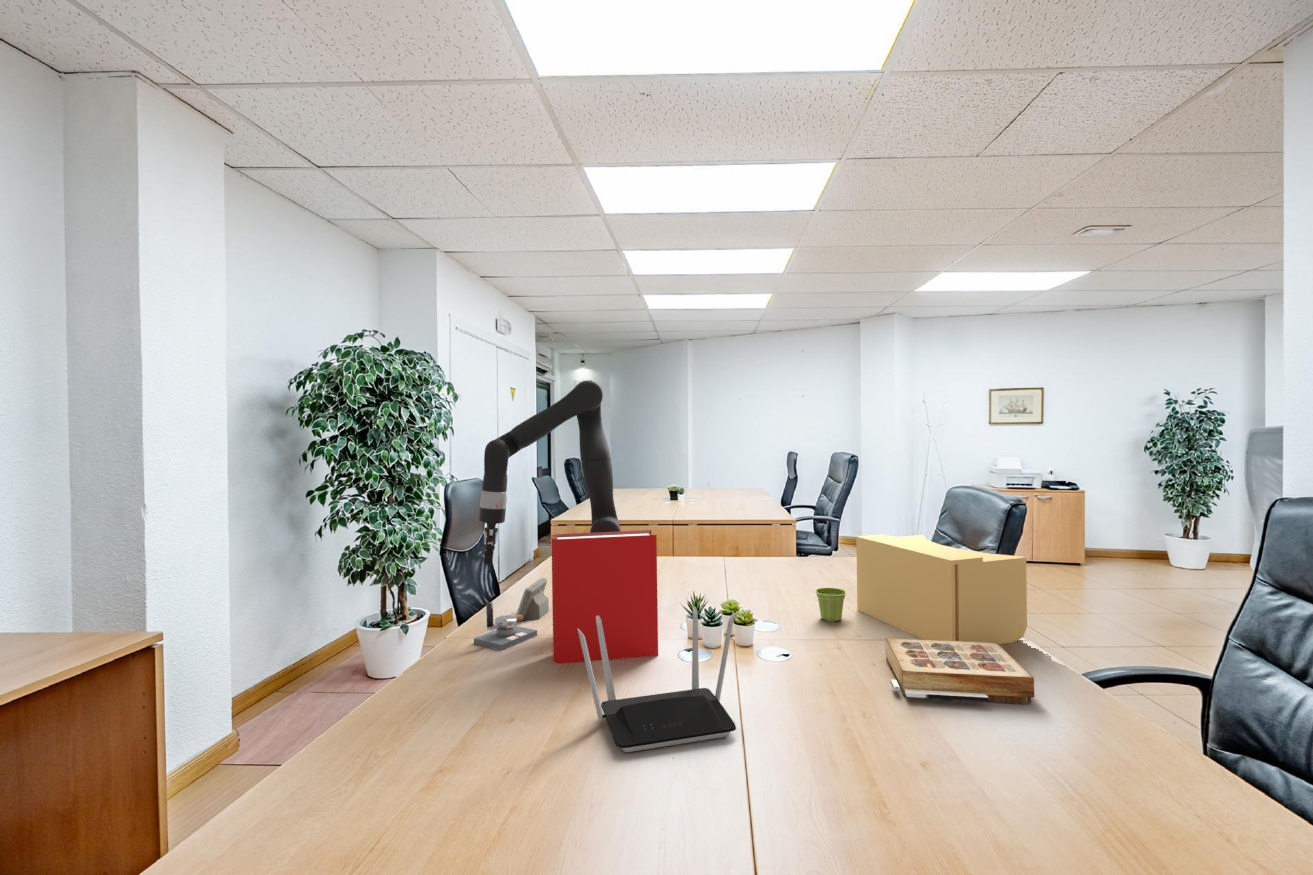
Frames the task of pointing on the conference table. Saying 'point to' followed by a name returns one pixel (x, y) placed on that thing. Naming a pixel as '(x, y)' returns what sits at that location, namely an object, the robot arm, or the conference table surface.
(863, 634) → the conference table surface
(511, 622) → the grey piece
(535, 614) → the digital clock
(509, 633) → the stand
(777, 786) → the conference table surface
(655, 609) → the book
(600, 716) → the wireless router
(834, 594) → the plant pot
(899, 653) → the flat wooden box
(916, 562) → the cardboard box
